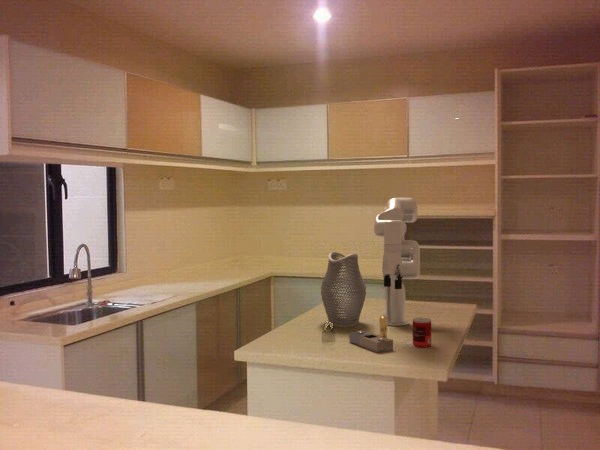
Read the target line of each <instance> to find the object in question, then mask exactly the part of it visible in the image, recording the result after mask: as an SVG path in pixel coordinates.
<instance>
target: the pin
mask: <svg viewBox="0 0 600 450" xmlns="http://www.w3.org/2000/svg"><path fill="white" fill-rule="evenodd" d="M379 336H382V337H385V338H388V325H387V317H386V316H383V315H381V316H379Z"/></svg>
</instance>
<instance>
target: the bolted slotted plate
mask: <svg viewBox="0 0 600 450" xmlns="http://www.w3.org/2000/svg"><path fill="white" fill-rule="evenodd" d="M349 343H351V344H354V345H356V346H358V347H362V348H365V349H367V350H369V351H372V352H375V353H383V352H389V350H390V351H394V340H393V339H390V338H388V337H387V338H385V337H382V336H380V334H379V335H378V334H375V333H372V332H370V331H367V330H358V331H353V332H349Z"/></svg>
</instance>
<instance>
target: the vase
mask: <svg viewBox="0 0 600 450" xmlns="http://www.w3.org/2000/svg"><path fill="white" fill-rule="evenodd" d="M358 260H359V255H358V254H357V253H349V254H347V255H343V254H341V253H339V252H332V251H331V252H330V253H329V254H328V263H327V268H326V272H325V274H324V277H323V280H322V282H321V286H320V295H321V301H322V304H323V308H324V309H325V310H324V311H325V313H326V317H327V321H328V323H329V322H331V323H333V325H334V326H333V327H340V328H349V327H355V326H358V325H359V322H360V317H361V313H362V310H363V308H364V307H363V306H364V303H365V301H366V295H367V291H366V290H367V287H366V282H365V280H364V278H363V275H362V273H361V271H360V265H359V261H358Z"/></svg>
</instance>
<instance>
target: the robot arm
mask: <svg viewBox="0 0 600 450" xmlns="http://www.w3.org/2000/svg"><path fill="white" fill-rule="evenodd" d="M417 219H418V204H417V200H415V198H413V197H393V198H390V199H389V200H387V202H386V206H385V207H384V208H383V210H382V212H380V213H378V215H376V217H375V220H374V226H373V228H374V229H373V231H374V234H375V236H377V237H381V238H382V237H383V257H382V275H383V276H382V277H383V287H385V312H384V313H383V314H382V316H386V317H387V326H392V327H401V326H403V327H404V326H407V325H408V324H409V320H407V319H406V288H405V285H404V283H403V280H416V279H418V278H420V275H421V251H420V250H421V249H420V245H419V242H418V241H417V240H413V239H412V240H411V239H408V240H407V239H405V234H406V233H407V224H406V223H415V222H416V221H417Z"/></svg>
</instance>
